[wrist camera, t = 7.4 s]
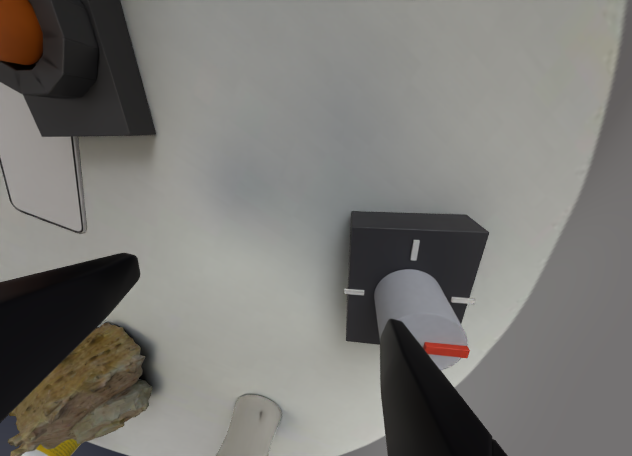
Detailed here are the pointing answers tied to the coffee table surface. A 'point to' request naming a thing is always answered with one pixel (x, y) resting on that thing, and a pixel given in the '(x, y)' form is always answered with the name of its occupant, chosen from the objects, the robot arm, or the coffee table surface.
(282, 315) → the coffee table surface
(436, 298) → the timer knob
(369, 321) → the timer panel
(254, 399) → the beer glass
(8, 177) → the smartphone
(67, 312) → the robot arm
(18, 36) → the button
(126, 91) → the button block
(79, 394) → the seashell
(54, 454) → the supplement bottle
